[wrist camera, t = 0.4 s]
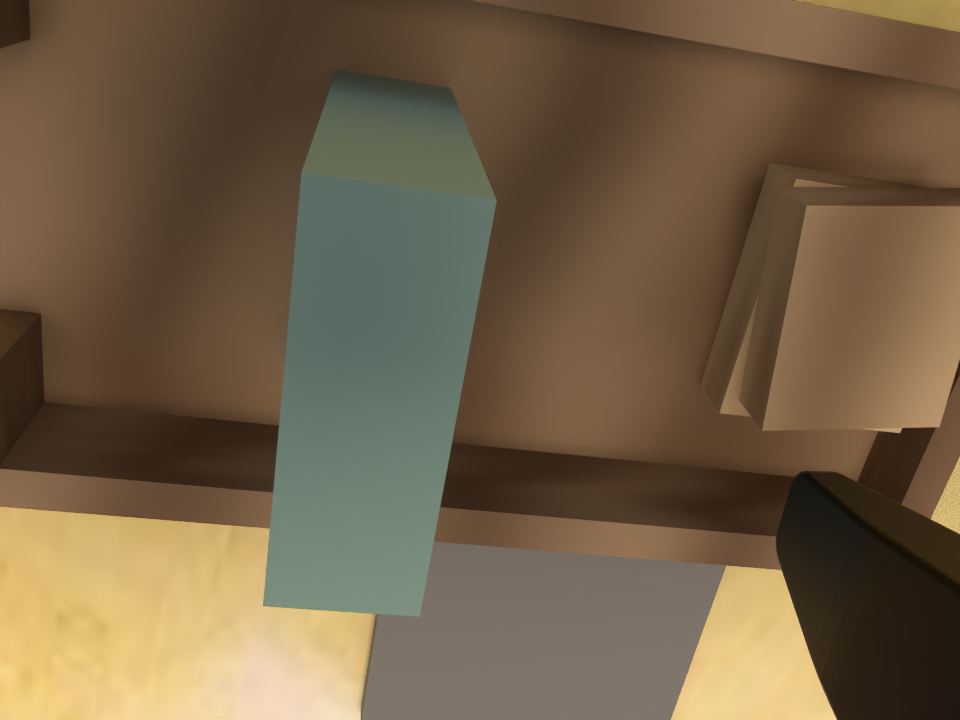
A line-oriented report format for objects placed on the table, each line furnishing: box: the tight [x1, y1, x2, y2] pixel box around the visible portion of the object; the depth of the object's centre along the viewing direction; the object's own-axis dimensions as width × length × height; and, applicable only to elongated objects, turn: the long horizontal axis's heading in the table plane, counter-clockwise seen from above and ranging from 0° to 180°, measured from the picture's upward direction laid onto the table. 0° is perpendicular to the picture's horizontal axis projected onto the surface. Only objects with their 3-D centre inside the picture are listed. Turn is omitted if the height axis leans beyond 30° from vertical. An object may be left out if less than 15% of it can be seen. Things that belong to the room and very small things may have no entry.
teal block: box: [263, 69, 497, 617], centre depth 17 cm, size 2×7×9 cm, turn 170°
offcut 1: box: [700, 163, 925, 433], centre depth 22 cm, size 5×6×2 cm
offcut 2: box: [739, 187, 960, 431], centre depth 20 cm, size 4×5×2 cm
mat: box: [361, 542, 726, 720], centre depth 27 cm, size 10×9×1 cm
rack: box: [0, 0, 960, 570], centre depth 19 cm, size 24×13×6 cm, turn 80°
